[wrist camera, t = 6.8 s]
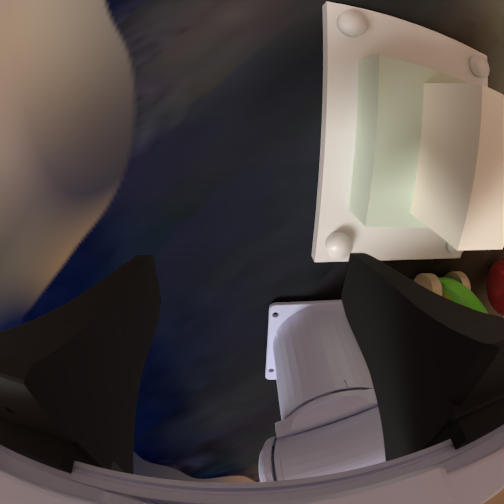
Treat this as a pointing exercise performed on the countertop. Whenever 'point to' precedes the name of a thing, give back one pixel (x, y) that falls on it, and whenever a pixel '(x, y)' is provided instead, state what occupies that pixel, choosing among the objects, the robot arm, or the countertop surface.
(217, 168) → the countertop surface
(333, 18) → the white studded slab
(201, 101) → the countertop surface
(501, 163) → the cream brick
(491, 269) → the onion
